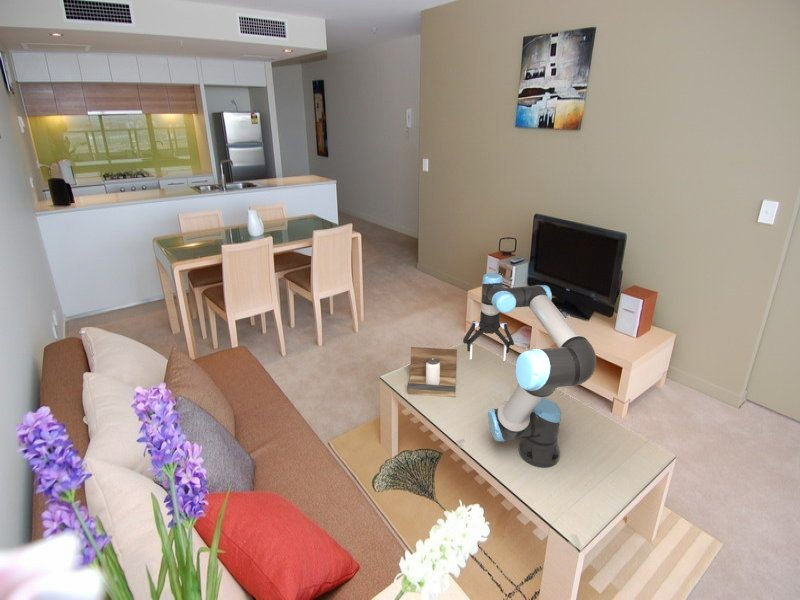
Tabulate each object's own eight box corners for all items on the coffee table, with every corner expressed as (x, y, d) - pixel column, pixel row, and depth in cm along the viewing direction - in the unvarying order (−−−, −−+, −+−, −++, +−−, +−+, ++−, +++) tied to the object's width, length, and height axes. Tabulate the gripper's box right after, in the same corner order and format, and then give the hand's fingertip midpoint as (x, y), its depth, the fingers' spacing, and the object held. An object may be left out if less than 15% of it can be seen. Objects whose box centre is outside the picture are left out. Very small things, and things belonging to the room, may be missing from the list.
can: (441, 385, 218) (442, 363, 213) (428, 387, 216) (428, 365, 211) (436, 378, 223) (437, 356, 219) (424, 380, 222) (424, 358, 217)
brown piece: (455, 397, 214) (456, 363, 207) (408, 394, 217) (407, 361, 210) (455, 381, 226) (457, 349, 219) (411, 378, 229) (410, 346, 222)
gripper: (521, 308, 185) (517, 355, 193) (458, 306, 188) (456, 352, 196) (523, 316, 178) (519, 364, 186) (458, 314, 181) (456, 361, 189)
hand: (487, 358), depth 191 cm, fingers open, 13 cm apart
